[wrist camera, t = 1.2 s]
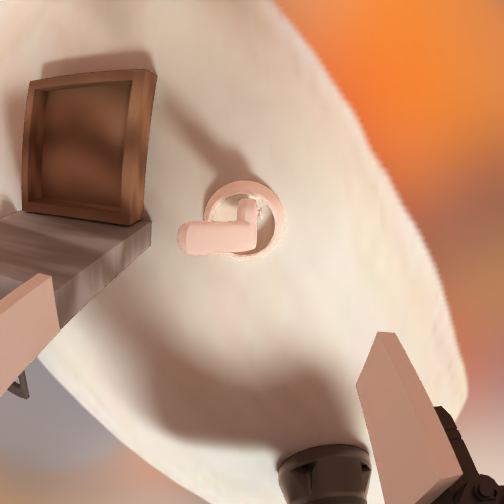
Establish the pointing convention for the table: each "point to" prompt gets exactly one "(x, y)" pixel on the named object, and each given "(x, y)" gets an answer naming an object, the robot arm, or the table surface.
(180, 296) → the table surface
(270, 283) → the table surface
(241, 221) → the pink door lever handle
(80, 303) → the open wooden box
